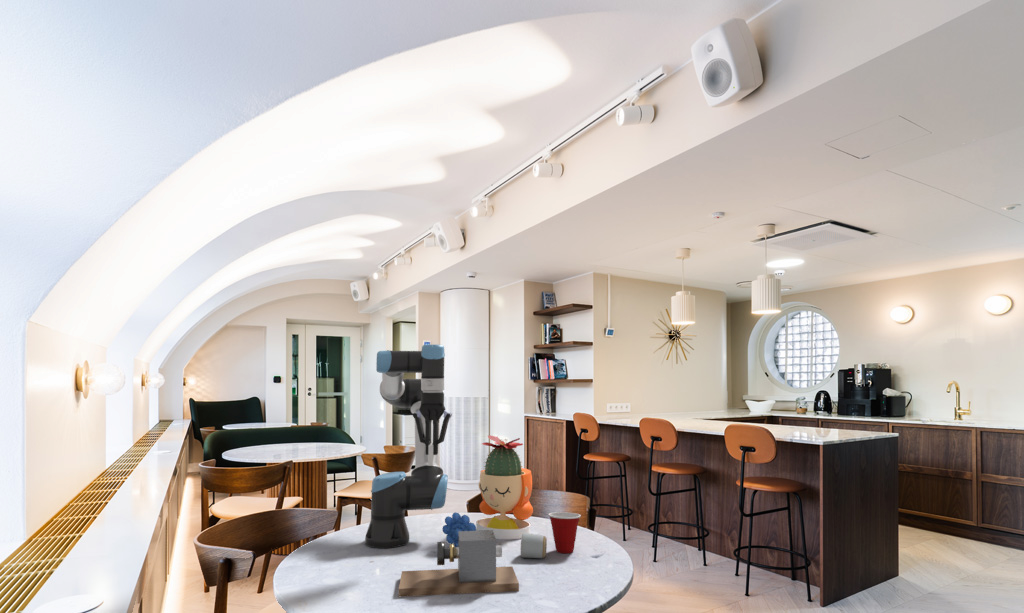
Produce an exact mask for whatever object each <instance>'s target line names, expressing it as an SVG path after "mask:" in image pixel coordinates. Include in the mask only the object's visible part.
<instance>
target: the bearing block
mask: <svg viewBox="0 0 1024 613" xmlns="http://www.w3.org/2000/svg"><path fill="white" fill-rule="evenodd" d="M496 545H497V539H496V538H495V535H494V532H493V530H483V531H458V547H459V559H457V569H458V576H459V583H477V582H496V567H497V557H496Z"/></svg>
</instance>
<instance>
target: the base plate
mask: <svg viewBox="0 0 1024 613" xmlns="http://www.w3.org/2000/svg"><path fill="white" fill-rule="evenodd" d="M399 581H400V582H399V586H398V597H399V598H400V597H419V596H420V597H421V596H422V597H423V596H438V595H439V596H440V595H442V596H444V595H445V596H446V595H460V594H461V595H462V594H482V593H483V594H484V593H502V592H503V593H504V592H519V591H520V583H519V580H518V577H517V574H516V572H515V569H514V568H513V566H496V582H477V583H459V576H458V568H448V569H446V568H445V569H442V568H441V569H425V570H424V569H423V570H418V569H417V570H402V571H401V574H400V580H399Z"/></svg>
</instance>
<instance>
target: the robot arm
mask: <svg viewBox="0 0 1024 613" xmlns="http://www.w3.org/2000/svg"><path fill="white" fill-rule="evenodd" d="M445 356H446V353H445V345H443V344H423V345H422V347H421V350H387V349H386V350H379V351H377V353H376V362H375V365H376V366H375V367H376V372H377V373H381V382H380V385H379V394H380V396H381V398H382V399H383V400H384V401H385V402H386V403H387V404H390V405H391V406H393V407H396V408H399V409H400V408H401V409H408V408H409V409H410V412H411V414H412V418H413V419H414V456H415V457H414V460H415V463H414V464H415V465H414V466H415V467H414V468H413V469H412V470H411V472H410V474H411V475H407V474H406V472H405V471H391V472H386V473H382V474H379V475H377V476H375V477H374V478H373V479H372V482H371V490H370V493H371V501H370V502H371V503H370V504H371V505H370V507H371V508H370V509H371V510H370V521H369V523H368V524H369V525H368V527H367V531H366V533H365V538H364V545H366V546H367V547H370V548H376V549H390V548H396V547H402V546H404V545H406V544H409V542H410V531H409V528H408V526H407V521H406V518H405V515H406V514H405V513H406V511H422V510H424V511H425V510H431V511H432V510H435V509H442V508H444V506H445V504H446V497H447V491H448V490H447V489H448V480H449V478H448V474H445V473H444V470H443V468H442V467H441V466H439V462H440V461H439V444H441V443H443V442H444V441H445V437H446V433H447V429H448V424H449V421H450V419H451V417H453V413H452V412H449V411H447V410H446V407H445V393H444V390H445ZM405 373H406V374H412V373H413V374H415V373H417V374H421V376H420V378H404V375H405ZM441 417H443V421H442V425H441V429H440V425H439V423H440V419H441ZM439 430H440V431H439Z"/></svg>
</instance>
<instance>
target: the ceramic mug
mask: <svg viewBox="0 0 1024 613" xmlns="http://www.w3.org/2000/svg"><path fill="white" fill-rule="evenodd" d="M547 544H548V543H547V537H546V536H545V535H542V534H536V533H530V534H529V533H523V534H522V538H521V539H520V557H521V558H523V559H524V558H525V559H544V558H545V557H546V556H547V547H548V546H547Z"/></svg>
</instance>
